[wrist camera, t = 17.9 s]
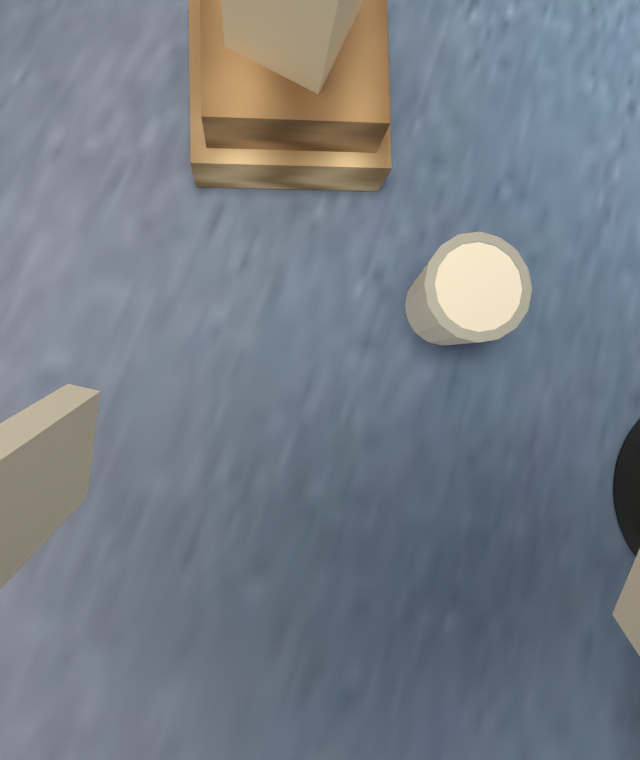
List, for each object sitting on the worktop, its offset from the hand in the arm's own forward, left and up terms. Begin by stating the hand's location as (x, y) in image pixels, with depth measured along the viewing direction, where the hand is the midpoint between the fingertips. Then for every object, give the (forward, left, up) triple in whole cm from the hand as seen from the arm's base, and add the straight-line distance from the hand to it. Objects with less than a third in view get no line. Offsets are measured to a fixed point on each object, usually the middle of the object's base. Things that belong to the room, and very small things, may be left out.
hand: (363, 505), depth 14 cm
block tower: (0, -25, -27) cm, 37 cm away
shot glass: (-11, -10, -28) cm, 32 cm away
